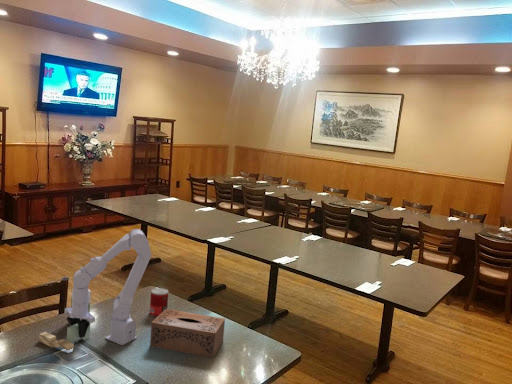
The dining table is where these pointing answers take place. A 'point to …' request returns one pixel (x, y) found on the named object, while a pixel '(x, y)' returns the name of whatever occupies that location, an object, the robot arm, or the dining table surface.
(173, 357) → the dining table surface
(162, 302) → the canned food
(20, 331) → the dining table surface
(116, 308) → the robot arm
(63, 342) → the slotted rail
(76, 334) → the cross plate
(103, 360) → the dining table surface
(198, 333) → the tissue box cover
